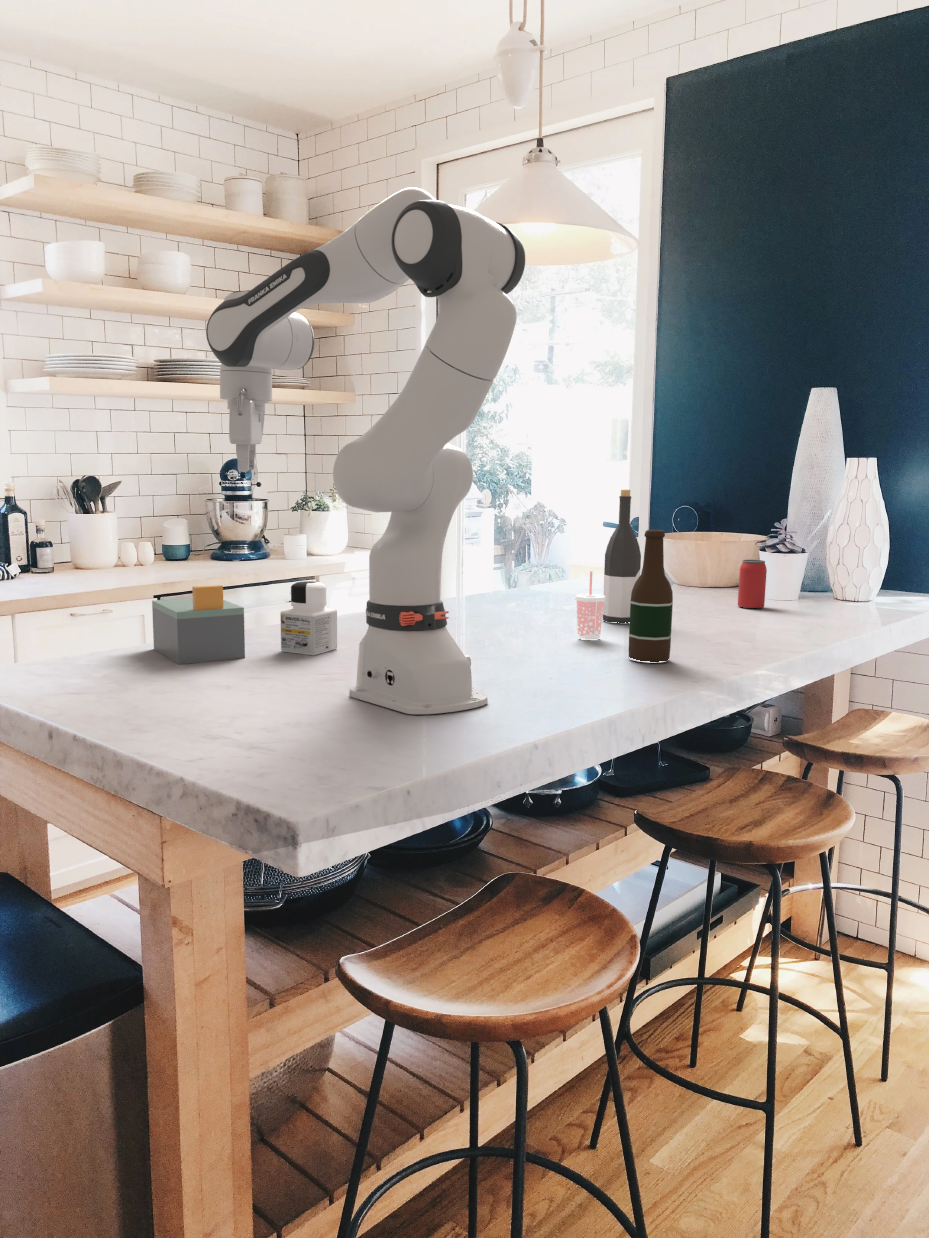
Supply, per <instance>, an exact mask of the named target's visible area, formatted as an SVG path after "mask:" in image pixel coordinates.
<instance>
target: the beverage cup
mask: <svg viewBox="0 0 929 1238" xmlns="http://www.w3.org/2000/svg"><path fill="white" fill-rule="evenodd" d="M588 588H589V591H588V592H589V593H579V594H576V595H574V596H575V597H574V598H575V601H576V622H577V623H576V624H577V625H576V628H577V629H576V630H577V631H576V632H577V638H578V637H579V638H585V639H598V638H600V639H601V633H602V623H603V605H604V601H605V596H604V595H603V594H595V593H592V590H593V571H589V587H588Z"/></svg>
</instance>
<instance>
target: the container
mask: <svg viewBox="0 0 929 1238" xmlns="http://www.w3.org/2000/svg"><path fill="white" fill-rule="evenodd" d="M290 600H291V601H290V605H291V607H292V608H291V609H286V610H281V611H280V613H279V614H280V650H281V652H284V653H292V654H300V655H306V656H317V655H320V654H324V653H327V652H331V651H334V650H337V649H338V611H337V609H335V608H327V607H326V606H327V585H325V584H324V582H321V581H313V580H312V581H308V580H307V581H297V582H295V583H293V584H291V586H290Z"/></svg>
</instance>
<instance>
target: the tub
mask: <svg viewBox="0 0 929 1238" xmlns="http://www.w3.org/2000/svg"><path fill="white" fill-rule="evenodd" d="M151 607H152V606H151ZM151 609H152V612H151V613H152V630H153V631H152V632H153V636H152V637H153V650H155V651H157V652H158V653H160V654H162V655H163V656H165V657H166V658H168V659H169V660H171V661H173V662H174V663H175V664H177V665H184V664H185V665H186V664H187V665H188V664H195V663H196V664H197V663H204V662H206V663H207V662H216V661H224V660H225V661H226V660H236V659H245V658H246V643H245V640H246V639H245V613H244V614H240V615H227V616H213V617H200V618H186V619H176V618H174V617H172V616H170V615H168V614H166V613H164V612H162V611H160V610H158V609H156V608H154V607H152V608H151Z"/></svg>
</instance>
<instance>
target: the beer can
mask: <svg viewBox="0 0 929 1238" xmlns="http://www.w3.org/2000/svg"><path fill="white" fill-rule="evenodd" d="M767 572H768V571H767V566H766V561H765V560H761V559H742V563H741V565H740V568H739V578H738V579H739V580H738V594H737V605H738V608H741V607H743V608H742V609H746V608H757V609H756V610H759V609H758V608H761V609H763V608H764V607H765V602H766V600H765V598H766V586H767Z"/></svg>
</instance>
